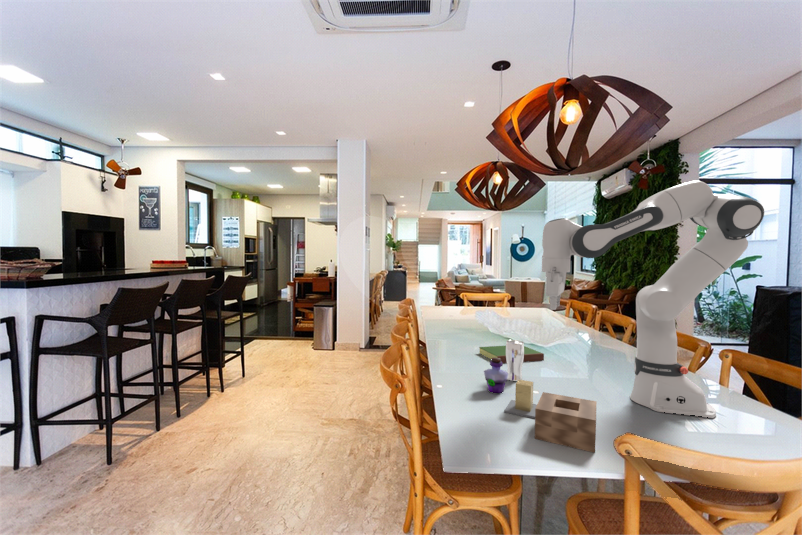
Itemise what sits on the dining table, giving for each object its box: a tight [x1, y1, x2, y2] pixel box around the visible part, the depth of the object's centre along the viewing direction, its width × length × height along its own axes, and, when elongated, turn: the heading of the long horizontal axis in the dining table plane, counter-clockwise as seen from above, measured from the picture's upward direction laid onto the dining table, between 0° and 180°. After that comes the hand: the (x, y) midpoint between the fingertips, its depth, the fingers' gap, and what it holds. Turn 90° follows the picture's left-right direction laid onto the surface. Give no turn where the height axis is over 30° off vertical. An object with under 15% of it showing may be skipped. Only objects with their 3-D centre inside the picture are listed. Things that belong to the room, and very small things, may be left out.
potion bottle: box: [483, 358, 508, 394], centre depth 131 cm, size 9×9×12 cm
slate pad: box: [503, 399, 538, 420], centre depth 115 cm, size 10×10×1 cm
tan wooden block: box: [514, 379, 534, 412], centre depth 115 cm, size 4×4×8 cm
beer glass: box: [505, 339, 525, 382], centre depth 144 cm, size 7×7×15 cm
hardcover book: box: [478, 345, 545, 364], centre depth 179 cm, size 25×19×4 cm
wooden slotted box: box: [534, 391, 598, 453], centre depth 99 cm, size 14×14×8 cm
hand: (555, 308), depth 123 cm, fingers open, 8 cm apart
